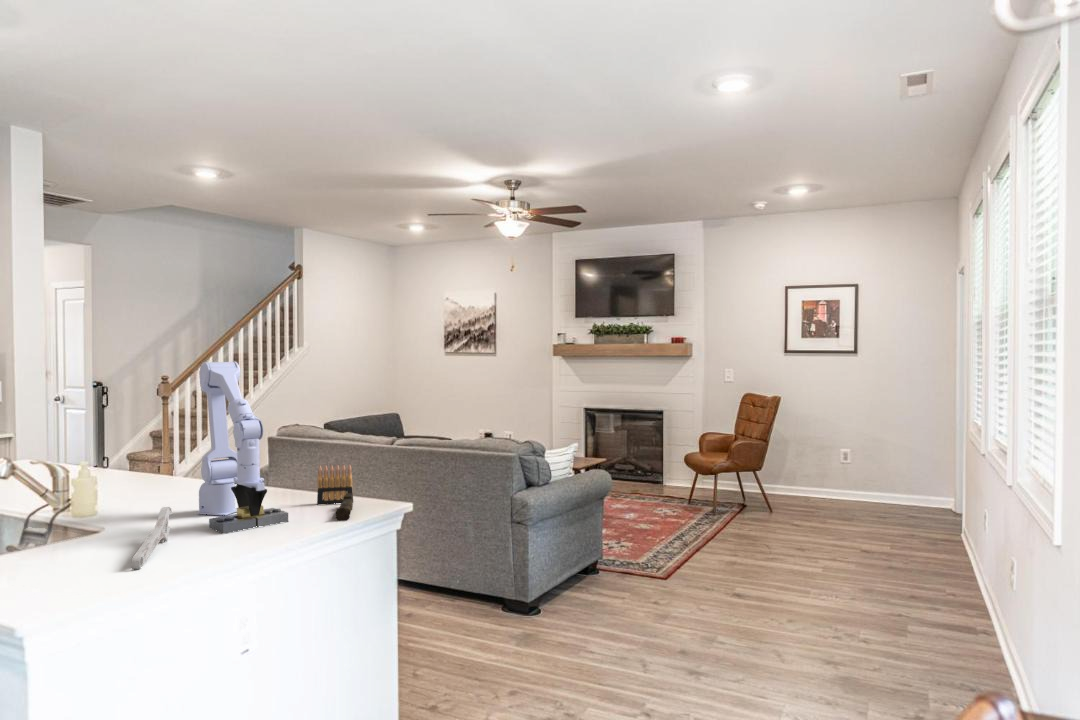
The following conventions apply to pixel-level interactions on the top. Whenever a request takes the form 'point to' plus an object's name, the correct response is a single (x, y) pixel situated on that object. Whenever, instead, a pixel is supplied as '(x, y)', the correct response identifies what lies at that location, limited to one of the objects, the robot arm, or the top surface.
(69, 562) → the top surface
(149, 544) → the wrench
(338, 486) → the ammunition clip
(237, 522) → the chain ends
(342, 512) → the dark brown elongated piece
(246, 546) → the top surface
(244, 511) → the brass rectangular block
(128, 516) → the top surface
